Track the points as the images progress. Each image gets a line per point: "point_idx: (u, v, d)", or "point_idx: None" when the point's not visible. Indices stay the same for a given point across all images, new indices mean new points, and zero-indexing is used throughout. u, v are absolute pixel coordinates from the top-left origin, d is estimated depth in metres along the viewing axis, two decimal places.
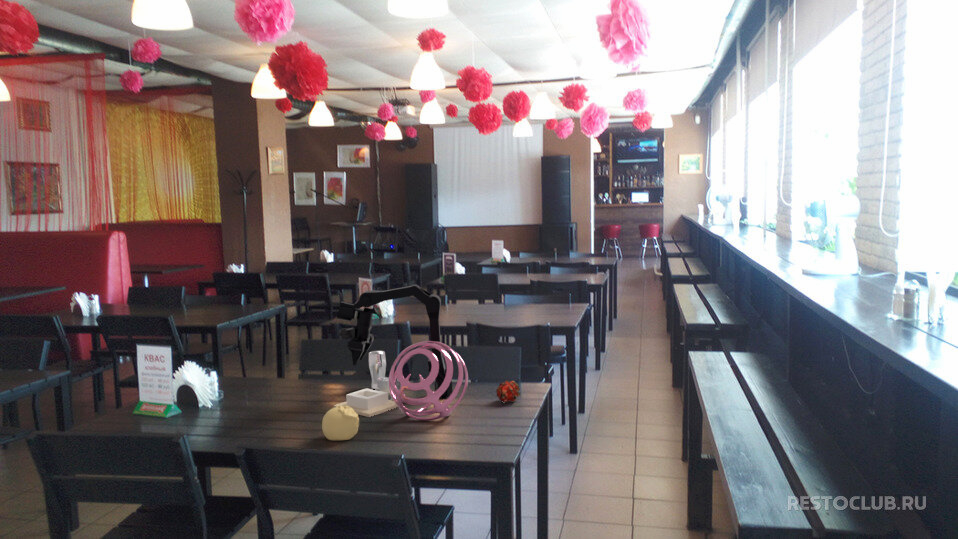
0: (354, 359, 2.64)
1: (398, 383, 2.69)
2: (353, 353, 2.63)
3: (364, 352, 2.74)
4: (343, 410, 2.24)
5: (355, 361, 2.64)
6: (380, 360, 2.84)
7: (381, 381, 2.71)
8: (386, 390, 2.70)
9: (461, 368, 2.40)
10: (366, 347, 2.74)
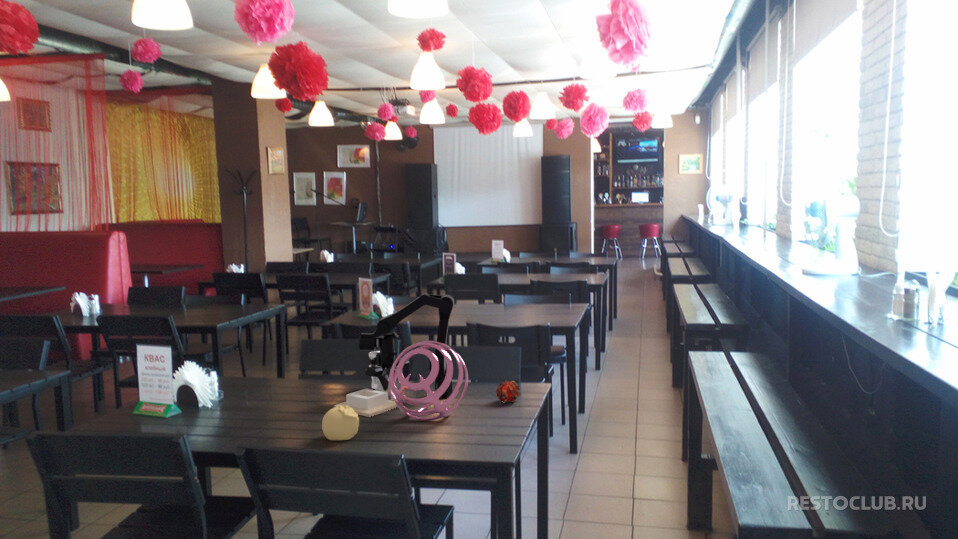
0: (383, 385, 2.69)
1: (398, 383, 2.69)
2: (380, 379, 2.69)
3: None
4: (343, 410, 2.24)
5: (384, 386, 2.69)
6: None
7: None
8: (386, 390, 2.70)
9: (461, 368, 2.40)
10: None
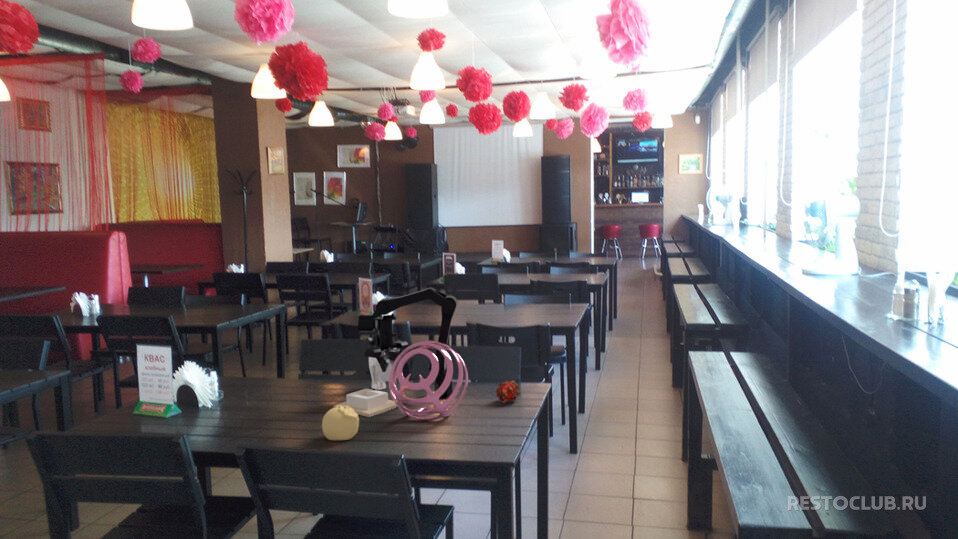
0: (381, 366, 2.69)
1: (397, 364, 2.69)
2: (379, 360, 2.68)
3: None
4: (343, 410, 2.24)
5: (382, 368, 2.68)
6: None
7: None
8: (385, 371, 2.69)
9: (461, 368, 2.40)
10: (394, 356, 2.71)
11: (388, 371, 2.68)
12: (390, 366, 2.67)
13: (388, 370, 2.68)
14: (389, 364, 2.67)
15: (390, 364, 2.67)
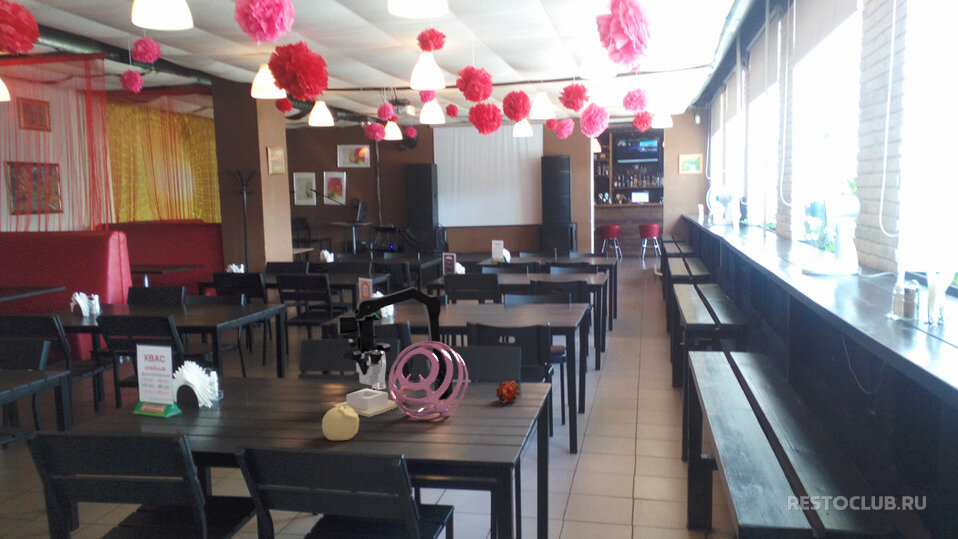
0: (362, 369, 2.59)
1: (378, 367, 2.59)
2: (359, 362, 2.59)
3: None
4: (343, 410, 2.24)
5: (363, 371, 2.59)
6: (380, 360, 2.84)
7: None
8: (365, 374, 2.60)
9: (461, 368, 2.40)
10: (375, 358, 2.62)
11: (368, 374, 2.58)
12: (370, 369, 2.57)
13: (368, 373, 2.58)
14: (369, 367, 2.58)
15: (370, 367, 2.57)
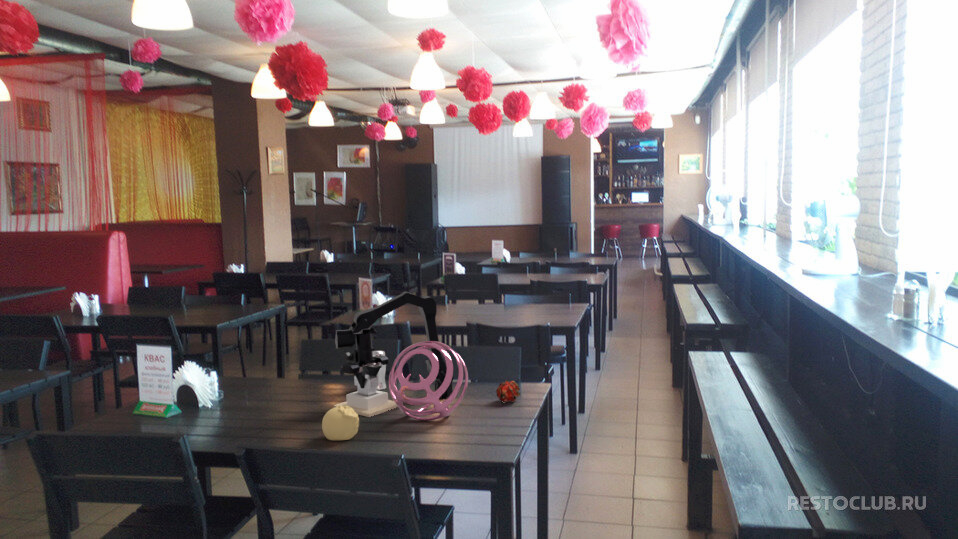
0: (360, 382, 2.58)
1: (376, 380, 2.58)
2: (357, 376, 2.57)
3: None
4: (343, 410, 2.24)
5: (361, 384, 2.58)
6: None
7: None
8: (363, 388, 2.58)
9: (461, 368, 2.40)
10: (373, 371, 2.61)
11: (367, 387, 2.57)
12: (368, 382, 2.56)
13: (367, 386, 2.57)
14: (368, 380, 2.56)
15: (369, 380, 2.56)
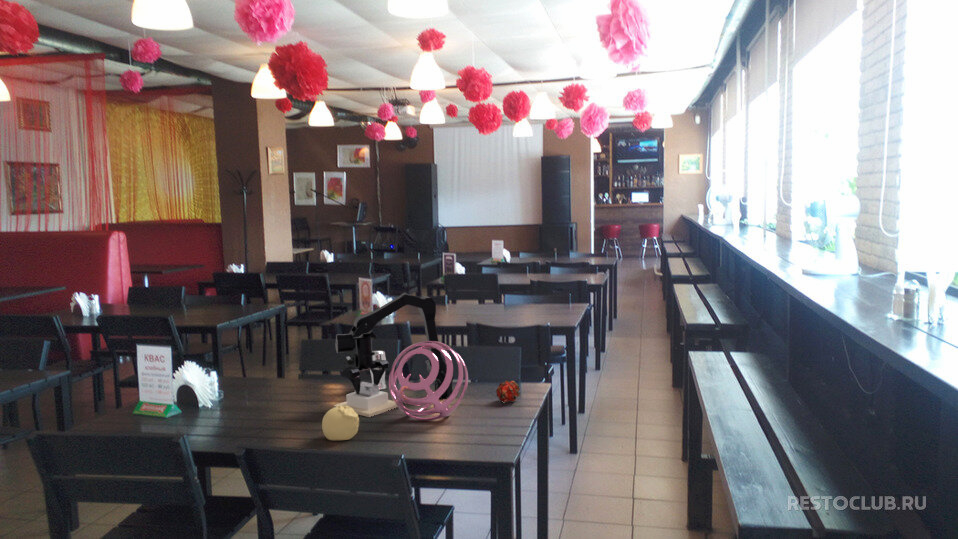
0: (356, 388, 2.56)
1: (376, 388, 2.58)
2: (353, 381, 2.56)
3: (377, 380, 2.63)
4: (343, 410, 2.24)
5: (357, 389, 2.56)
6: None
7: None
8: None
9: (461, 368, 2.40)
10: (378, 374, 2.62)
11: (367, 395, 2.57)
12: (369, 390, 2.56)
13: (367, 394, 2.57)
14: (368, 388, 2.57)
15: (369, 388, 2.56)
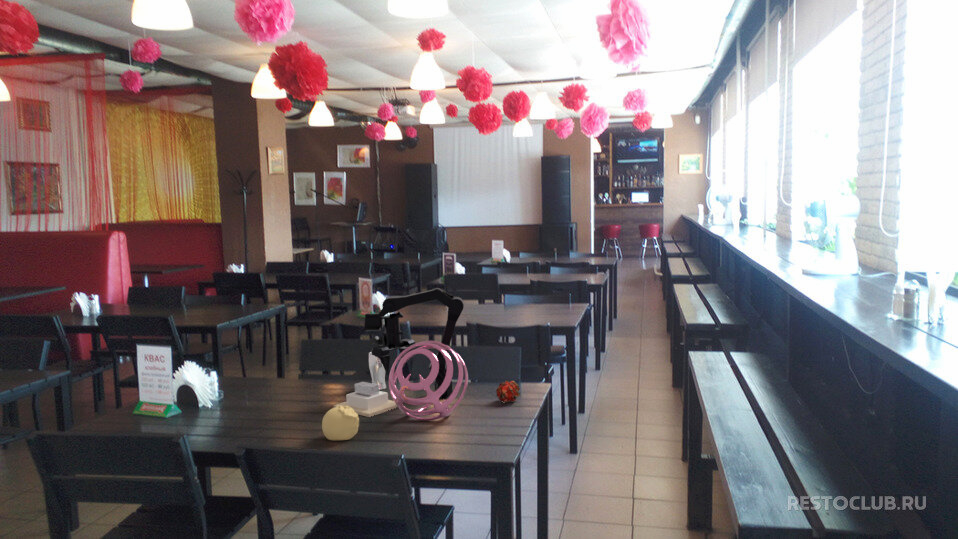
0: (385, 366, 2.66)
1: (376, 388, 2.58)
2: (382, 360, 2.65)
3: None
4: (343, 410, 2.24)
5: (386, 368, 2.65)
6: None
7: (359, 386, 2.60)
8: None
9: (461, 368, 2.40)
10: None
11: (367, 395, 2.57)
12: (369, 390, 2.56)
13: (367, 394, 2.57)
14: (368, 388, 2.57)
15: (369, 388, 2.56)
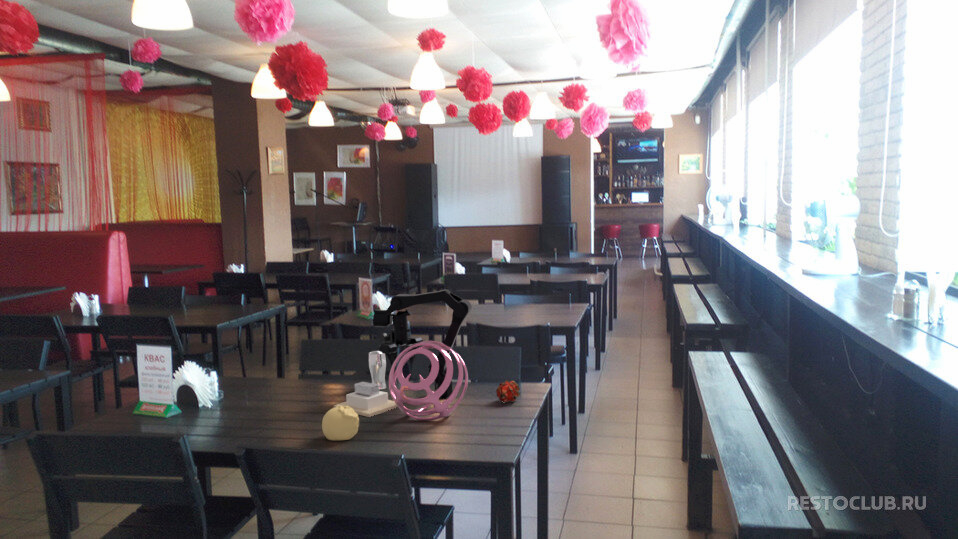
0: (392, 363, 2.69)
1: (376, 388, 2.58)
2: (389, 357, 2.68)
3: None
4: (343, 410, 2.24)
5: None
6: (380, 360, 2.84)
7: (359, 386, 2.60)
8: None
9: (461, 368, 2.40)
10: None
11: (367, 395, 2.57)
12: (369, 390, 2.56)
13: (367, 394, 2.57)
14: (368, 388, 2.57)
15: (369, 388, 2.56)
